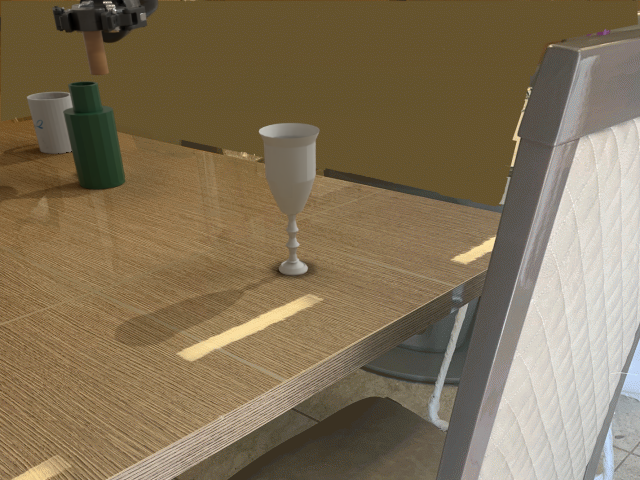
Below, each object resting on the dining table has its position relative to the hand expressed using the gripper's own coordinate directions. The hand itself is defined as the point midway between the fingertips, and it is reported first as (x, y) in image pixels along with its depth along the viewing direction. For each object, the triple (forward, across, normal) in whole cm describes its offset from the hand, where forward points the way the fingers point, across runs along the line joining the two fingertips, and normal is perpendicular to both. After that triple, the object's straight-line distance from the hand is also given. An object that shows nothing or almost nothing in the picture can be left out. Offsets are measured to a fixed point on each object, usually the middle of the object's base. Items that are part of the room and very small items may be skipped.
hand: (85, 23), depth 88 cm
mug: (-44, -20, +26) cm, 55 cm away
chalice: (+28, +27, +26) cm, 47 cm away
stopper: (-3, 0, +6) cm, 7 cm away
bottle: (-17, -6, +26) cm, 32 cm away
